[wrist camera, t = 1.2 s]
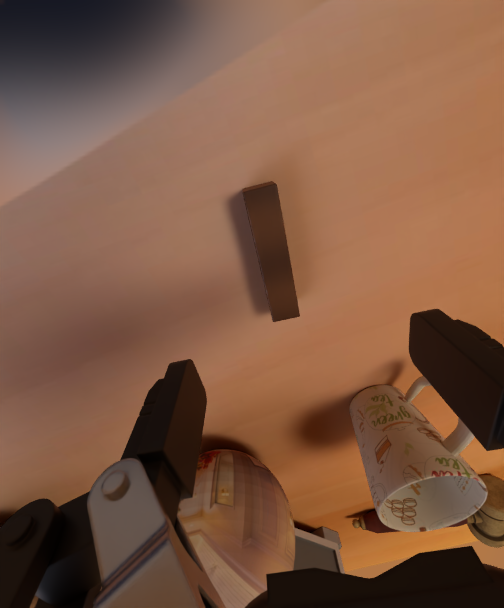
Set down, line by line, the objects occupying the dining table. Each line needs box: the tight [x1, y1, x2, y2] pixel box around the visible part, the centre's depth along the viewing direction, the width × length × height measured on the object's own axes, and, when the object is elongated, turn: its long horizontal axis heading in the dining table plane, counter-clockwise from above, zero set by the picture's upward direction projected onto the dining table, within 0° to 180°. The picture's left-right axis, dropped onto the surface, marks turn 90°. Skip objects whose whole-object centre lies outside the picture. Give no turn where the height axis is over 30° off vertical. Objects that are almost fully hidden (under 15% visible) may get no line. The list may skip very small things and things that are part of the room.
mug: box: [350, 376, 488, 532], centre depth 25 cm, size 8×13×10 cm, turn 161°
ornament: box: [177, 449, 295, 608], centre depth 27 cm, size 15×15×15 cm
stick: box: [243, 181, 300, 322], centre depth 20 cm, size 10×2×2 cm, turn 13°
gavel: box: [352, 475, 504, 547], centre depth 39 cm, size 21×5×10 cm
